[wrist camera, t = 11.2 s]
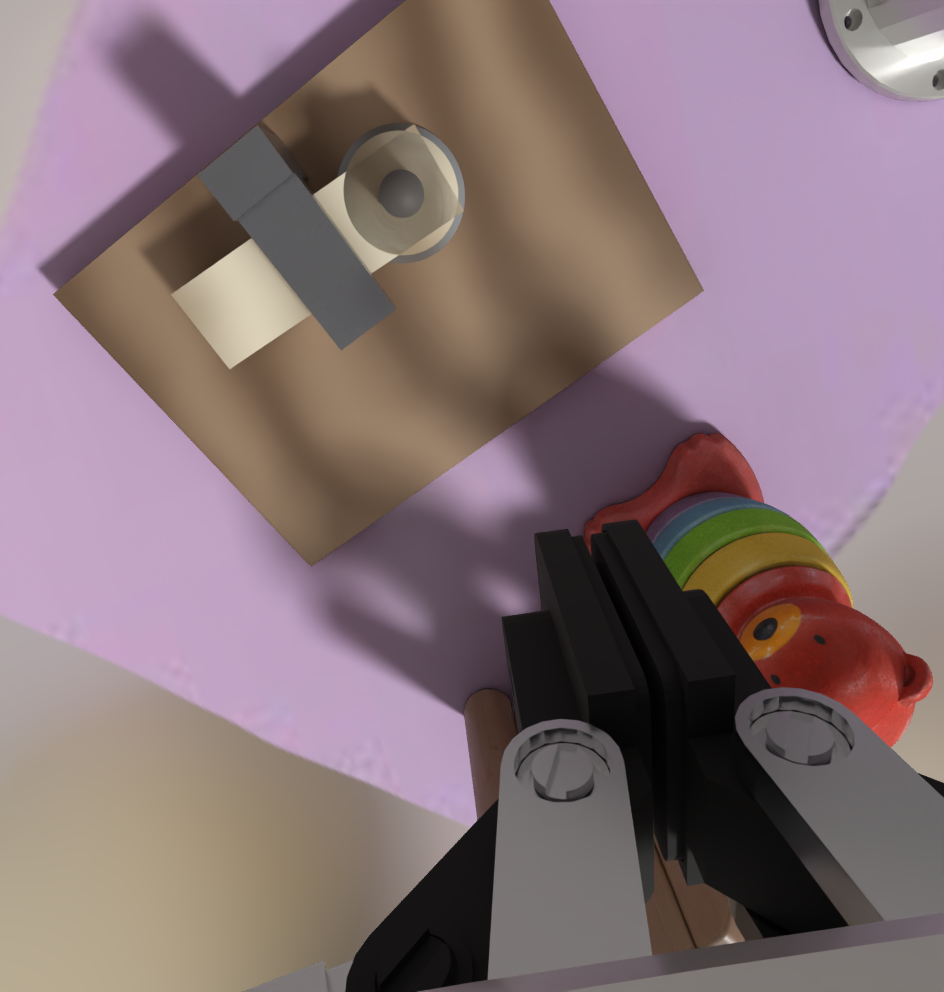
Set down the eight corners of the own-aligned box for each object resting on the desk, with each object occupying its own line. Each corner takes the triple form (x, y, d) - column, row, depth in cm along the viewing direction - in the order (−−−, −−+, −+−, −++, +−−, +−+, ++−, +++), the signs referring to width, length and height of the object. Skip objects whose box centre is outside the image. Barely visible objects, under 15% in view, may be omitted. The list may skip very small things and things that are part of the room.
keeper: (280, 138, 31) (257, 125, 26) (395, 296, 34) (395, 312, 29) (229, 180, 32) (197, 175, 27) (348, 332, 35) (339, 354, 30)
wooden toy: (638, 564, 43) (908, 973, 20) (695, 629, 46) (995, 1060, 23) (453, 706, 46) (507, 1203, 23) (516, 759, 49) (621, 1259, 26)
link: (416, 111, 31) (419, 96, 27) (474, 214, 33) (486, 215, 29) (176, 280, 33) (144, 290, 28) (245, 368, 34) (224, 391, 30)
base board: (499, -70, 30) (505, -85, 29) (692, 287, 37) (705, 291, 35) (66, 290, 34) (51, 294, 32) (313, 554, 41) (310, 568, 39)
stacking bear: (709, 415, 40) (931, 556, 24) (796, 528, 44) (1042, 719, 27) (566, 535, 42) (680, 742, 26) (661, 634, 45) (814, 871, 29)
